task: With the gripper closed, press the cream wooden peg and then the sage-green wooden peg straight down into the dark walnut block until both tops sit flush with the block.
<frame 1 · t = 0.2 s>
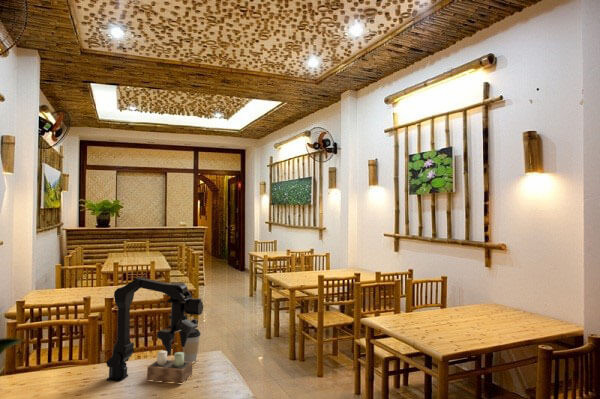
hand: (176, 350, 175), 14 cm above the table, tool pointing down, fingers open, 9 cm apart
coffee cup: (189, 362, 199), on the table
walnut block: (170, 378, 179), on the table
sage peg: (179, 360, 179), point 8 cm above the table, slide at 5.0 cm
cream peg: (162, 358, 180), point 8 cm above the table, slide at 5.0 cm
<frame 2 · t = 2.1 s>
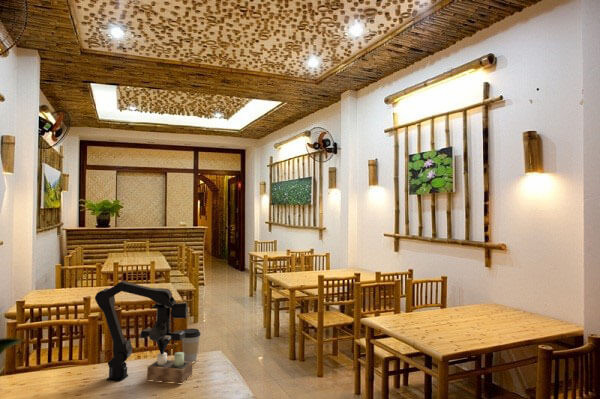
hand: (162, 353, 180), 10 cm above the table, tool pointing down, fingers closed, pressing on cream peg
cream peg: (162, 360, 180), point 7 cm above the table, slide at 4.2 cm, touching gripper
everything else where it was.
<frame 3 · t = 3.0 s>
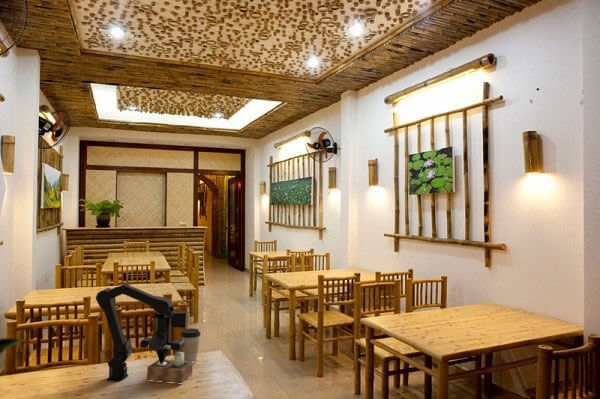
hand: (161, 363, 180), 6 cm above the table, tool pointing down, fingers closed, pressing on cream peg
cream peg: (161, 369, 180), point 3 cm above the table, slide at 0.1 cm, touching gripper
everything else where it was.
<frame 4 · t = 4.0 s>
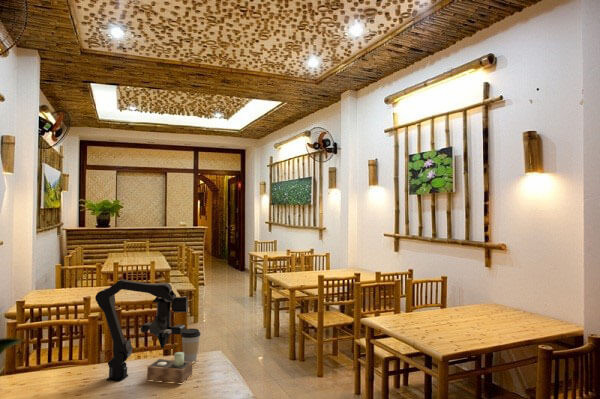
hand: (162, 347, 181), 13 cm above the table, tool pointing down, fingers closed
cream peg: (161, 369, 180), point 3 cm above the table, slide at 0.1 cm
everything else where it was.
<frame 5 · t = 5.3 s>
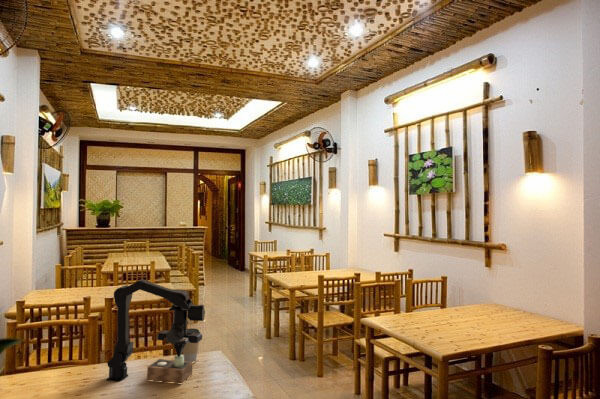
hand: (179, 356, 179), 10 cm above the table, tool pointing down, fingers closed, pressing on sage peg
sage peg: (179, 362, 179), point 7 cm above the table, slide at 3.9 cm, touching gripper
everything else where it was.
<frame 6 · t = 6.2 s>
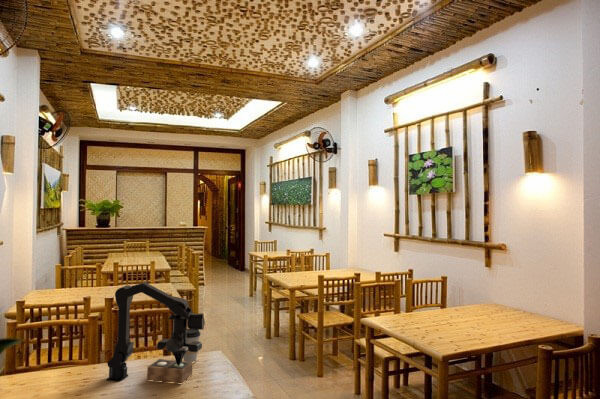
hand: (178, 365, 179), 6 cm above the table, tool pointing down, fingers closed, pressing on sage peg
sage peg: (178, 371, 179), point 3 cm above the table, slide at 0.1 cm, touching gripper
everything else where it was.
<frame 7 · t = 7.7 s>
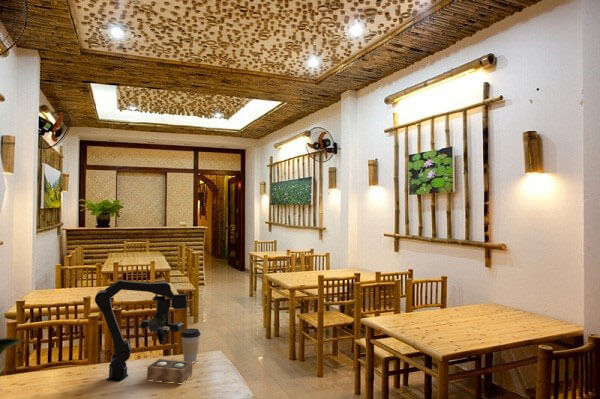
hand: (161, 344, 185), 13 cm above the table, tool pointing down, fingers closed
sage peg: (178, 371, 179), point 3 cm above the table, slide at 0.1 cm
everything else where it was.
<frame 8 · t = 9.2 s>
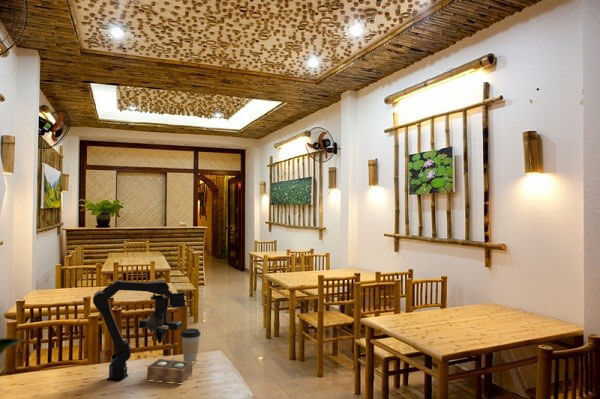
hand: (159, 343, 186), 13 cm above the table, tool pointing down, fingers closed
nothing on the table moved.
at the end: cream peg slide at 0.1 cm; sage peg slide at 0.1 cm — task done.
